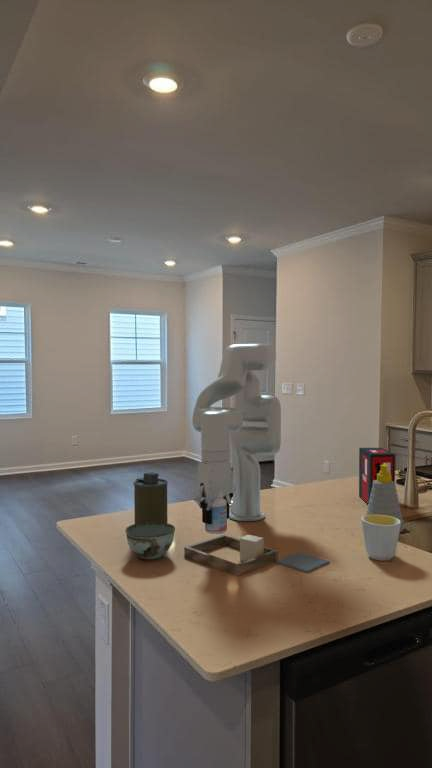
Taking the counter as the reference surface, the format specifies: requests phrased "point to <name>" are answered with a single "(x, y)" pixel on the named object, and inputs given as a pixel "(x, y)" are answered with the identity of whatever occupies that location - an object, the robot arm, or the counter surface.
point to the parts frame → (236, 569)
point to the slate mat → (302, 562)
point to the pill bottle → (218, 516)
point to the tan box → (251, 547)
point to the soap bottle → (384, 497)
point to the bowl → (150, 539)
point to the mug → (380, 536)
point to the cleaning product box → (373, 468)
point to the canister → (150, 499)
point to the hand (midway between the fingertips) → (215, 519)
